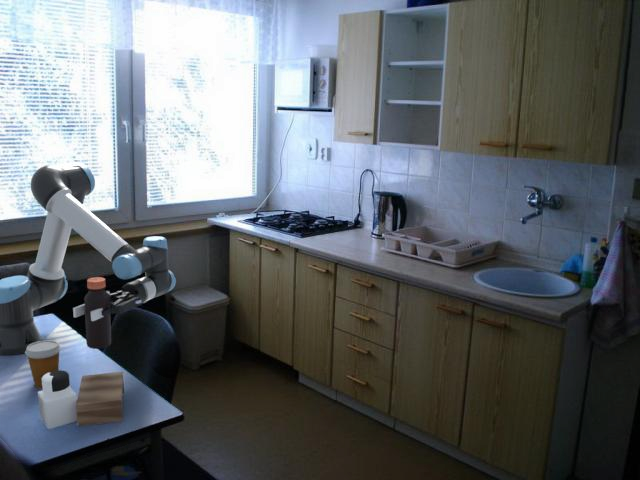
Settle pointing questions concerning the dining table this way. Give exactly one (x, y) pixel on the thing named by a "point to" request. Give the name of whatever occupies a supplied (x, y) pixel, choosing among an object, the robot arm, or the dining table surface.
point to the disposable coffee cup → (43, 359)
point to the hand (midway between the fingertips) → (83, 314)
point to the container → (57, 400)
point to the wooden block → (100, 399)
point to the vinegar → (100, 328)
